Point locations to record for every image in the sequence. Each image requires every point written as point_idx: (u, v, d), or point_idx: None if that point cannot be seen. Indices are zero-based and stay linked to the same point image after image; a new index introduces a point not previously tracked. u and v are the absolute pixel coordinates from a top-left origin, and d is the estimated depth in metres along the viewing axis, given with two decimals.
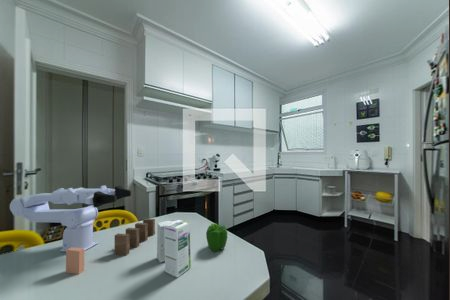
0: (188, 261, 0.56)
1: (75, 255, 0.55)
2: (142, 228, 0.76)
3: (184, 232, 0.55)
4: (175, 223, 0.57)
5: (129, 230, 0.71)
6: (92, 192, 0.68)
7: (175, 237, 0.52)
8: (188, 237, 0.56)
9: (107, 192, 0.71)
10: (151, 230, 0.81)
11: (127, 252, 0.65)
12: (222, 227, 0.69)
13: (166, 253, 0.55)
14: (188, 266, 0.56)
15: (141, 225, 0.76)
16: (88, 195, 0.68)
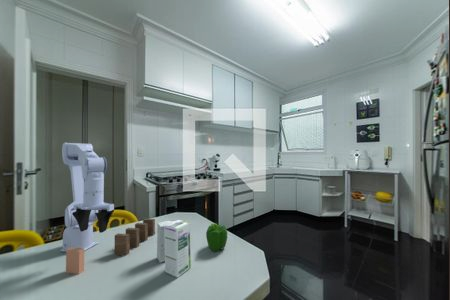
0: (188, 261, 0.56)
1: (75, 255, 0.55)
2: (142, 228, 0.76)
3: (184, 232, 0.55)
4: (175, 222, 0.57)
5: (129, 230, 0.71)
6: None
7: (175, 237, 0.52)
8: (188, 237, 0.56)
9: None
10: (151, 230, 0.81)
11: (127, 252, 0.65)
12: (222, 227, 0.69)
13: (166, 253, 0.55)
14: (188, 266, 0.56)
15: (141, 225, 0.76)
16: None
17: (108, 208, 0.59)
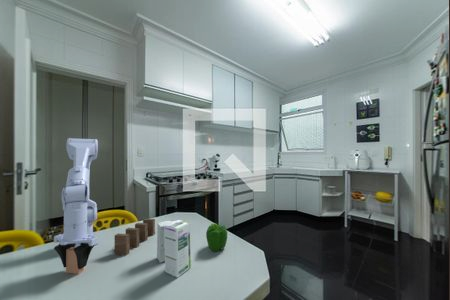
0: (188, 261, 0.56)
1: (75, 255, 0.55)
2: (142, 228, 0.76)
3: (184, 232, 0.55)
4: (175, 223, 0.57)
5: (129, 230, 0.71)
6: None
7: (175, 237, 0.52)
8: (188, 237, 0.56)
9: None
10: (151, 230, 0.81)
11: (127, 252, 0.65)
12: (222, 227, 0.69)
13: (166, 253, 0.55)
14: (188, 266, 0.56)
15: (141, 225, 0.76)
16: None
17: (90, 243, 0.54)
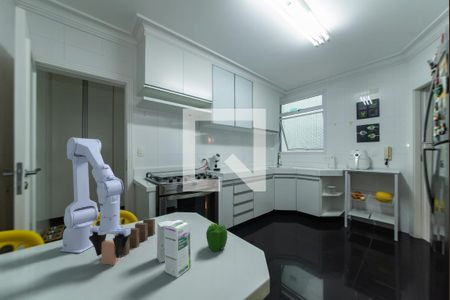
0: (188, 261, 0.56)
1: (110, 247, 0.59)
2: (142, 228, 0.76)
3: (184, 232, 0.55)
4: (175, 223, 0.57)
5: None
6: (100, 222, 0.59)
7: (175, 237, 0.52)
8: (188, 237, 0.56)
9: None
10: (151, 230, 0.81)
11: (127, 252, 0.65)
12: (222, 227, 0.69)
13: (166, 253, 0.55)
14: (188, 266, 0.56)
15: (141, 225, 0.76)
16: None
17: (125, 233, 0.58)
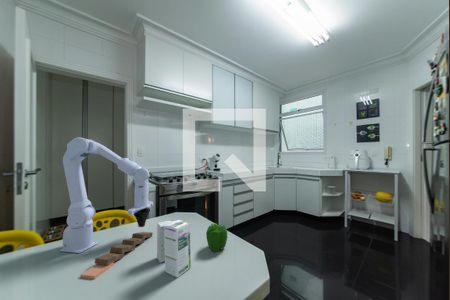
0: (188, 261, 0.56)
1: None
2: None
3: (184, 232, 0.55)
4: (175, 223, 0.57)
5: None
6: (142, 200, 0.76)
7: (175, 237, 0.52)
8: (188, 237, 0.56)
9: None
10: None
11: (122, 256, 0.63)
12: (222, 227, 0.69)
13: (166, 253, 0.55)
14: (188, 266, 0.56)
15: (129, 244, 0.69)
16: (139, 198, 0.75)
17: (152, 203, 0.85)
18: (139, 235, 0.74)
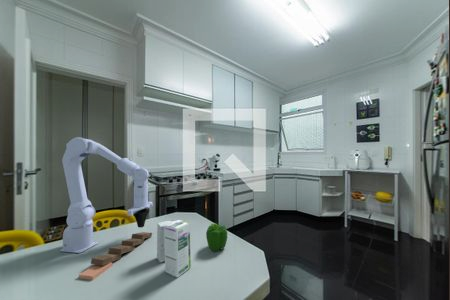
0: (188, 261, 0.56)
1: None
2: None
3: (184, 232, 0.55)
4: (175, 223, 0.57)
5: None
6: (141, 201, 0.75)
7: (175, 237, 0.52)
8: (188, 237, 0.56)
9: None
10: None
11: (119, 257, 0.62)
12: (222, 227, 0.69)
13: (166, 253, 0.55)
14: (188, 266, 0.56)
15: None
16: (138, 198, 0.75)
17: (152, 203, 0.84)
18: (139, 235, 0.74)
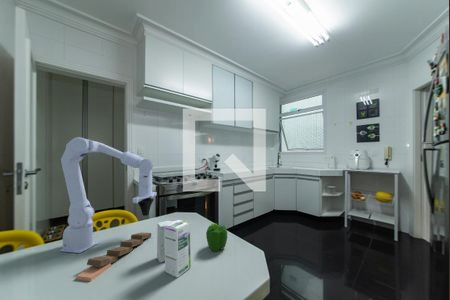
0: (188, 261, 0.56)
1: None
2: None
3: (184, 232, 0.55)
4: (175, 223, 0.57)
5: None
6: (146, 190, 0.79)
7: (175, 237, 0.52)
8: (188, 237, 0.56)
9: None
10: None
11: (115, 259, 0.60)
12: (222, 227, 0.69)
13: (166, 253, 0.55)
14: (188, 266, 0.56)
15: None
16: (143, 187, 0.78)
17: (156, 194, 0.87)
18: (138, 236, 0.73)
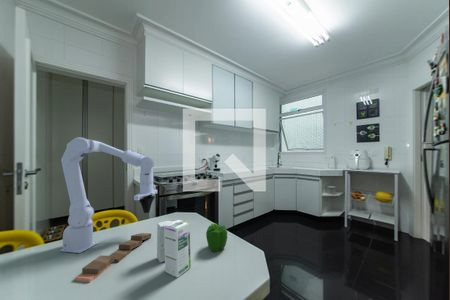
0: (188, 261, 0.56)
1: None
2: None
3: (184, 232, 0.55)
4: (175, 223, 0.57)
5: None
6: (147, 187, 0.79)
7: (175, 237, 0.52)
8: (188, 237, 0.56)
9: None
10: None
11: (112, 260, 0.59)
12: (222, 227, 0.69)
13: (166, 253, 0.55)
14: (188, 266, 0.56)
15: None
16: (144, 185, 0.79)
17: (156, 191, 0.88)
18: (138, 237, 0.73)
